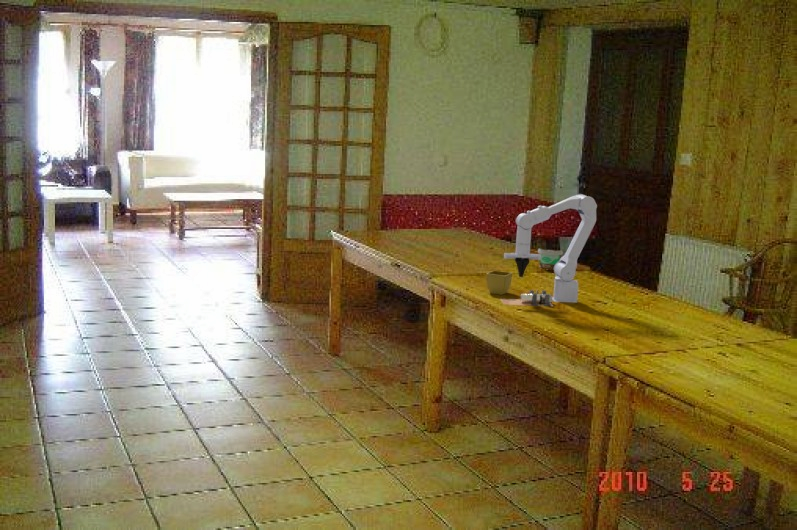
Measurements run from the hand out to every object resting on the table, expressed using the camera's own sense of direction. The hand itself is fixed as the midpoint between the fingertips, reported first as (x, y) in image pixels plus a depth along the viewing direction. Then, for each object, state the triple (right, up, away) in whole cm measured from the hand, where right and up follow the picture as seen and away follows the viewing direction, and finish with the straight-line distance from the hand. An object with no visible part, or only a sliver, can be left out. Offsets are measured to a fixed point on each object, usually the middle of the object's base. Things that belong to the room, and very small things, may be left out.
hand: (520, 276), depth 333 cm
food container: (+24, +2, +71) cm, 74 cm away
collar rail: (+7, -11, -3) cm, 13 cm away
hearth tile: (+2, -11, -3) cm, 11 cm away
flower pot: (-8, -8, +13) cm, 16 cm away
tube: (+5, -10, -3) cm, 12 cm away
